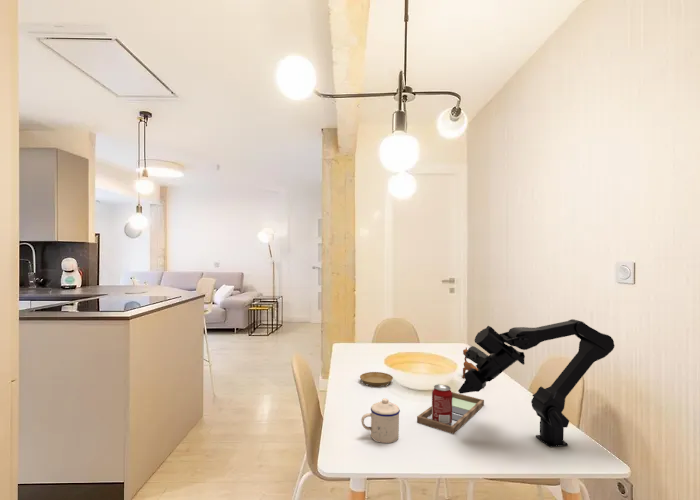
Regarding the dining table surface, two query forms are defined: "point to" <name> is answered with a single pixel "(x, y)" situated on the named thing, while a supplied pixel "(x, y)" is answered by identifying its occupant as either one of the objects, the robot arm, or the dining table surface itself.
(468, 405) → the pad
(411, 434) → the dining table surface
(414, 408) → the dining table surface
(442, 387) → the soda can
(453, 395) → the walnut tray
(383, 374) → the plant saucer
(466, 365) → the cat figurine
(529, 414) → the dining table surface
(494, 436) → the dining table surface
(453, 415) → the pads
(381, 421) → the teacup with lid
